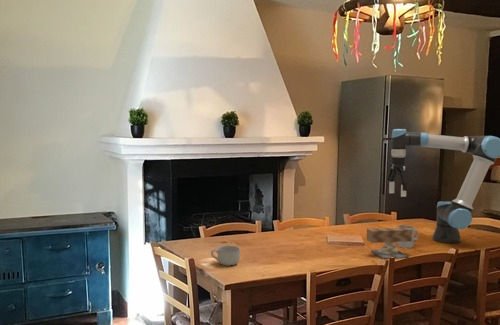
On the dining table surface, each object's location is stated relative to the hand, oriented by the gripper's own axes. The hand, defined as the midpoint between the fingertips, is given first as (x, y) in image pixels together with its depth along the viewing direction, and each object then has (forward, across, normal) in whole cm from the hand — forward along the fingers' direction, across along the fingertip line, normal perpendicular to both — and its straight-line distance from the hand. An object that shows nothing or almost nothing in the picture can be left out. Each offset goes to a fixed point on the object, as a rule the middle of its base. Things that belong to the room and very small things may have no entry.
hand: (397, 194), depth 265 cm
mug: (+29, +3, +6) cm, 29 cm away
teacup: (+28, +22, -100) cm, 106 cm away
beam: (+21, +18, -14) cm, 31 cm away
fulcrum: (+28, +18, -13) cm, 36 cm away
